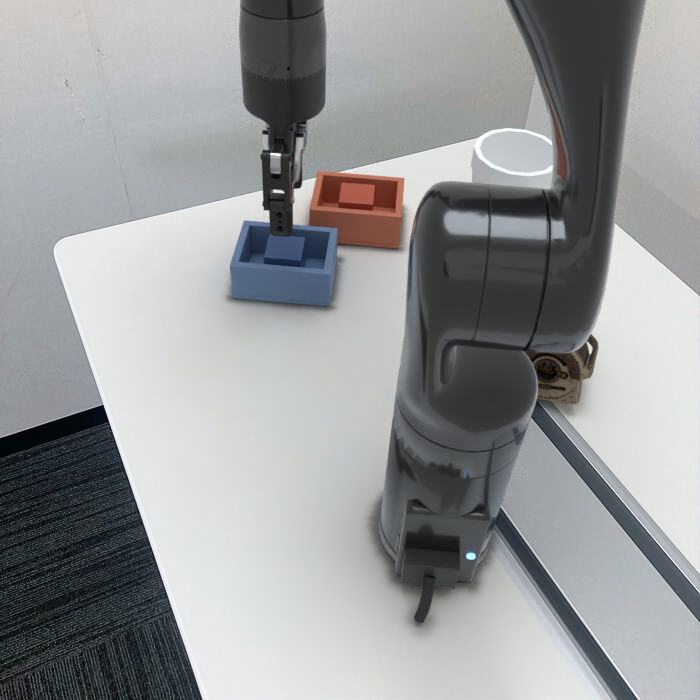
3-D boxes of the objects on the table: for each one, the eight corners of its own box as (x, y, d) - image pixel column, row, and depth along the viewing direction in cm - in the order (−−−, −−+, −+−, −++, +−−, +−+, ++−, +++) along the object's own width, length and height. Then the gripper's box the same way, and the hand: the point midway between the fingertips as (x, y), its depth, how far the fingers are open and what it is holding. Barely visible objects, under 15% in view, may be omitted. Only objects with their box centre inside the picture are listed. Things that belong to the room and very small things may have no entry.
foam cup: (548, 241, 91) (575, 146, 82) (517, 282, 86) (543, 186, 76) (477, 214, 95) (496, 119, 85) (443, 252, 89) (459, 156, 80)
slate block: (301, 288, 83) (300, 260, 80) (265, 285, 83) (263, 257, 80) (305, 265, 86) (305, 237, 83) (270, 262, 86) (269, 234, 83)
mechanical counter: (475, 334, 72) (567, 373, 66) (550, 263, 78) (641, 294, 72) (481, 387, 77) (567, 428, 71) (551, 317, 83) (637, 349, 77)
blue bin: (329, 306, 82) (330, 274, 79) (232, 298, 82) (229, 265, 79) (336, 259, 87) (337, 227, 84) (246, 252, 88) (243, 220, 84)
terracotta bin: (398, 248, 89) (401, 217, 86) (309, 241, 90) (309, 209, 86) (401, 209, 95) (404, 177, 91) (317, 202, 95) (317, 170, 92)
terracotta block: (371, 232, 90) (373, 204, 87) (337, 229, 90) (338, 201, 87) (373, 212, 93) (374, 184, 90) (340, 209, 93) (341, 182, 90)
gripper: (318, 97, 61) (316, 255, 73) (332, 25, 71) (328, 174, 83) (226, 91, 61) (239, 249, 73) (253, 20, 71) (260, 169, 83)
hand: (287, 209), depth 78 cm, fingers open, 8 cm apart
